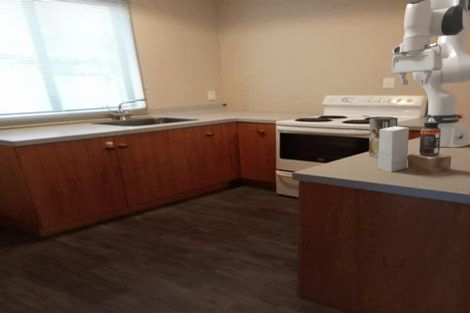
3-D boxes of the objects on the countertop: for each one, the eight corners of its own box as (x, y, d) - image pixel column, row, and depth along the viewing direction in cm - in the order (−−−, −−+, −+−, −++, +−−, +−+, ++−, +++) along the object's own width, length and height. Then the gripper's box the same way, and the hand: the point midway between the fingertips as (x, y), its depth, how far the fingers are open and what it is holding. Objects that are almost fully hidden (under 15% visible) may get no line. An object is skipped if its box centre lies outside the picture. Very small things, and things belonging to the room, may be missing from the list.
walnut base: (427, 165, 120) (428, 151, 118) (450, 170, 111) (451, 155, 110) (407, 168, 117) (408, 153, 116) (429, 174, 109) (430, 158, 108)
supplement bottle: (442, 156, 110) (444, 122, 107) (422, 156, 111) (424, 123, 109) (435, 152, 115) (437, 120, 113) (416, 153, 117) (418, 121, 114)
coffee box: (397, 156, 136) (398, 117, 133) (389, 159, 132) (390, 119, 129) (376, 153, 143) (377, 116, 140) (368, 156, 140) (369, 118, 136)
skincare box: (393, 165, 122) (395, 125, 119) (408, 168, 117) (410, 127, 114) (377, 169, 119) (378, 128, 116) (391, 172, 113) (393, 129, 110)
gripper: (448, 42, 112) (445, 83, 115) (402, 49, 131) (400, 84, 134) (433, 42, 111) (431, 84, 113) (389, 50, 130) (387, 85, 133)
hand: (414, 84), depth 124 cm, fingers open, 8 cm apart
